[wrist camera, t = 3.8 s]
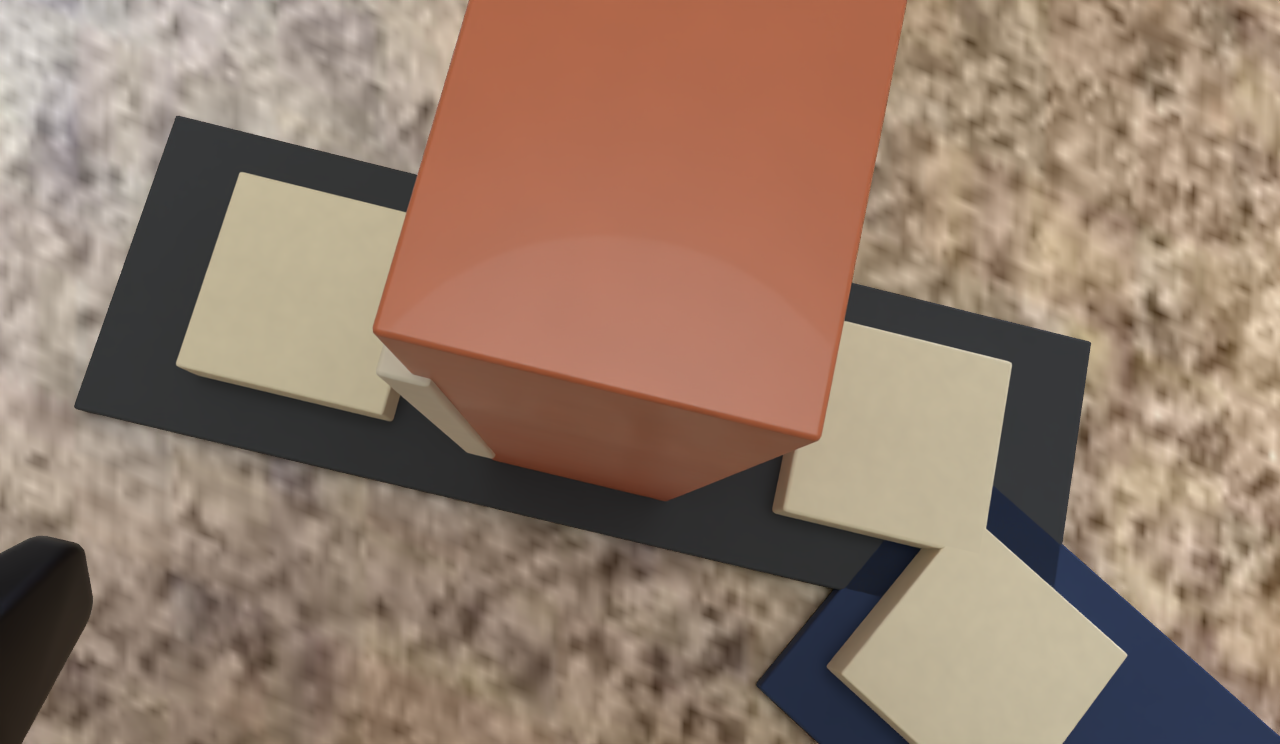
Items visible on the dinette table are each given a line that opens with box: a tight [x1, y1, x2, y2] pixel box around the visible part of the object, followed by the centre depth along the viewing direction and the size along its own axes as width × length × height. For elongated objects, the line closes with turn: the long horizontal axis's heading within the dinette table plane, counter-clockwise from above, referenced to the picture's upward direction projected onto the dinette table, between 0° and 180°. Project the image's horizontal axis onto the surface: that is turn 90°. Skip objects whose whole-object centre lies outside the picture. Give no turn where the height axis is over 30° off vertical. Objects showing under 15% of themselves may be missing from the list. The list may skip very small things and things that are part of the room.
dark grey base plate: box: [74, 116, 1091, 597], centre depth 21 cm, size 22×7×2 cm, turn 77°
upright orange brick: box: [372, 0, 907, 501], centre depth 15 cm, size 5×4×13 cm
